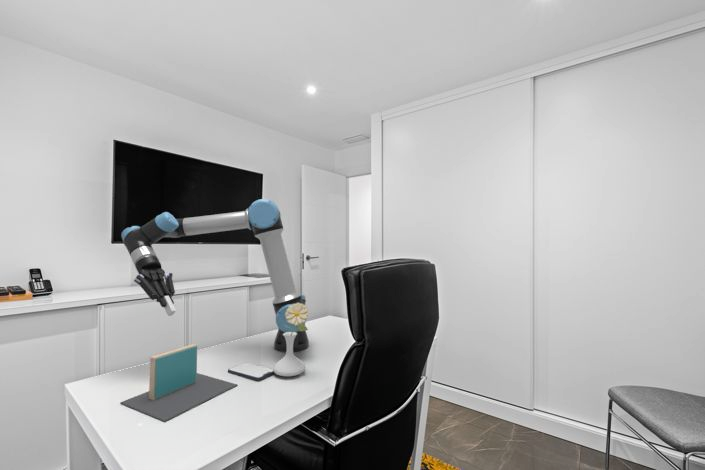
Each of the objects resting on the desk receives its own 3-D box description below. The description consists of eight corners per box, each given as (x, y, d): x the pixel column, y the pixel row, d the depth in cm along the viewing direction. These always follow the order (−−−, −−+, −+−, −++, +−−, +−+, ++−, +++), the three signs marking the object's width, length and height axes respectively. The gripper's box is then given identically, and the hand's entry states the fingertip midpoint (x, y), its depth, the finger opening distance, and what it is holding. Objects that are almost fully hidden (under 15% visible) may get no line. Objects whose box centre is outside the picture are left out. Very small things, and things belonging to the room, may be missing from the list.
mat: (195, 373, 112) (195, 372, 112) (237, 385, 103) (237, 384, 103) (120, 403, 91) (120, 402, 91) (164, 422, 82) (164, 420, 82)
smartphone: (225, 374, 114) (258, 383, 106) (225, 369, 114) (258, 378, 106) (245, 366, 122) (277, 374, 114) (245, 361, 122) (277, 369, 114)
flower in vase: (266, 376, 111) (267, 303, 111) (284, 365, 121) (285, 298, 122) (299, 382, 106) (300, 306, 107) (315, 370, 117) (316, 300, 118)
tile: (192, 380, 106) (193, 343, 106) (197, 382, 105) (198, 345, 105) (149, 398, 93) (150, 357, 94) (153, 400, 92) (155, 358, 93)
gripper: (159, 267, 126) (184, 316, 117) (122, 269, 114) (147, 323, 106) (168, 254, 123) (194, 303, 115) (131, 255, 112) (158, 309, 103)
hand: (172, 313), depth 110 cm, fingers closed
